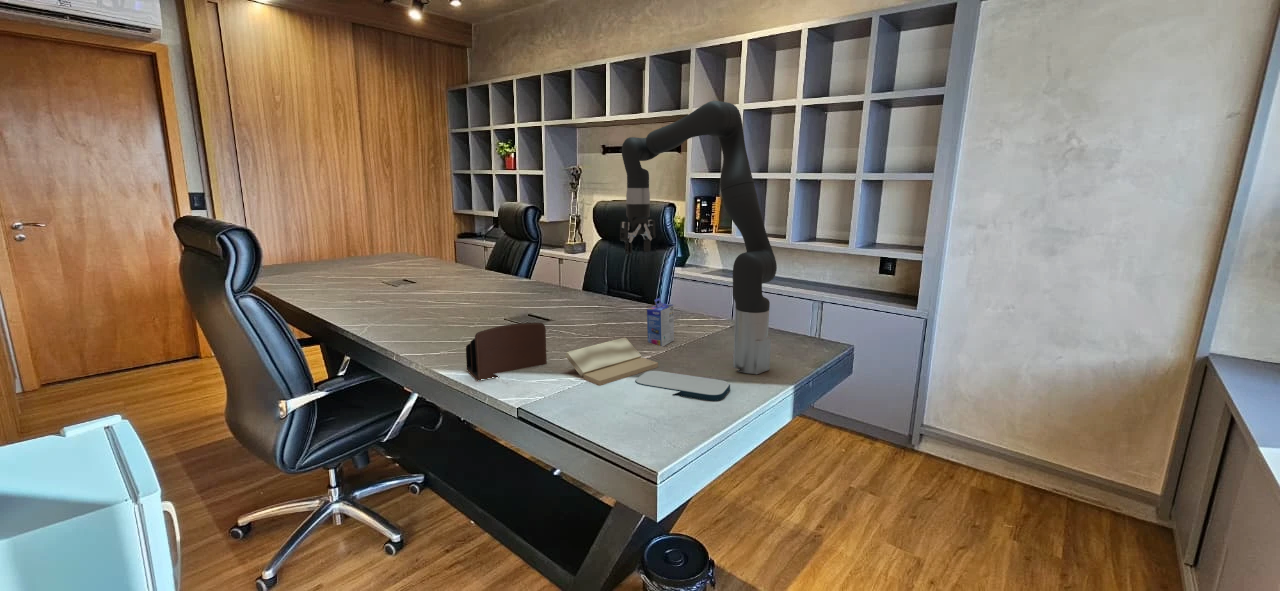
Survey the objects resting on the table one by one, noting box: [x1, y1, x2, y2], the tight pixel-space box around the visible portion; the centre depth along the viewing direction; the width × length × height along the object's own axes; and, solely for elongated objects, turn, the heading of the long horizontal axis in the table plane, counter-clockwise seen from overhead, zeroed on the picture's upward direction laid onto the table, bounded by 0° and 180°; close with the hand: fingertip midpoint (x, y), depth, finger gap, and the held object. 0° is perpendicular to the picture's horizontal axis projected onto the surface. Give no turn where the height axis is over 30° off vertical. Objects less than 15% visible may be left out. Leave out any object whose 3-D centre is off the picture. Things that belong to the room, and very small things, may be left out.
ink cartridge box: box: [646, 297, 675, 347], centre depth 186 cm, size 10×6×14 cm, turn 152°
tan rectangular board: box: [582, 356, 659, 386], centre depth 158 cm, size 16×23×2 cm
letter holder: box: [465, 322, 548, 381], centre depth 159 cm, size 10×20×14 cm, turn 123°
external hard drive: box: [634, 370, 731, 402], centre depth 147 cm, size 24×12×2 cm, turn 66°
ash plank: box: [565, 337, 642, 378], centre depth 159 cm, size 8×21×2 cm, turn 135°
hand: (638, 253), depth 187 cm, fingers open, 8 cm apart
